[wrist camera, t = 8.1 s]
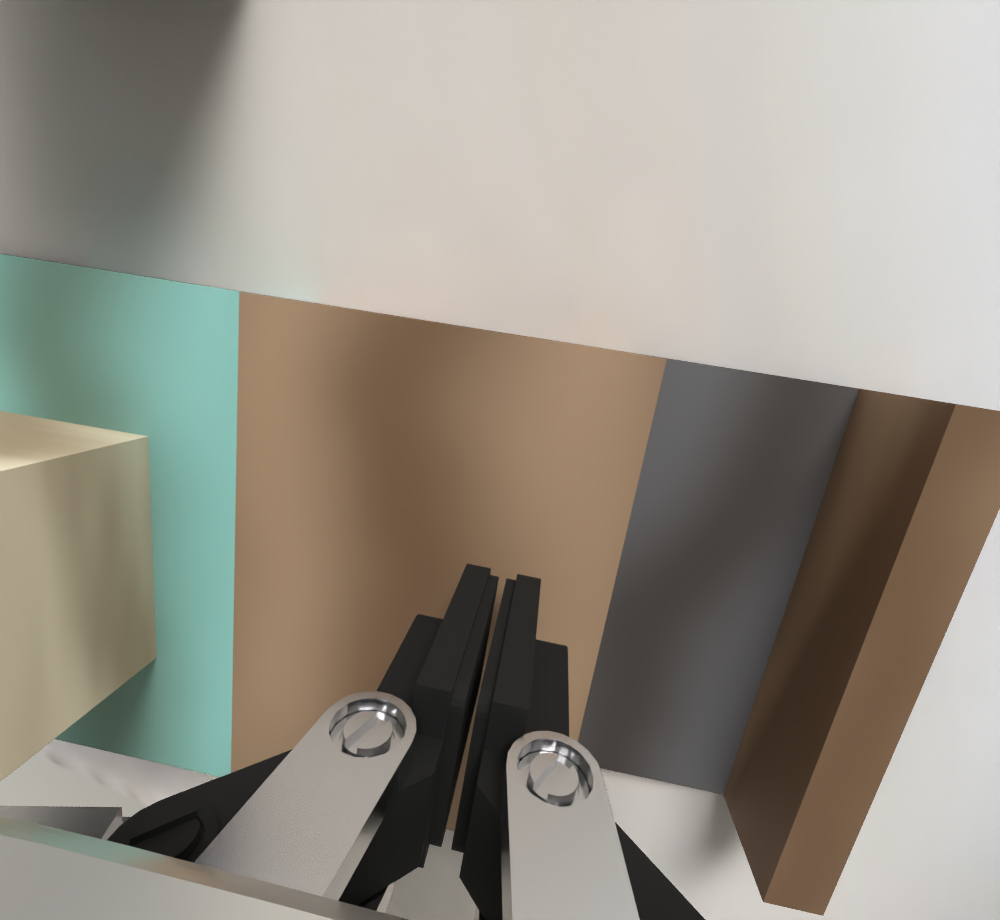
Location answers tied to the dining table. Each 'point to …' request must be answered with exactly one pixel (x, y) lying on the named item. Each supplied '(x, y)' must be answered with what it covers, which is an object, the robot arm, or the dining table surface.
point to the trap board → (519, 537)
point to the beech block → (69, 575)
